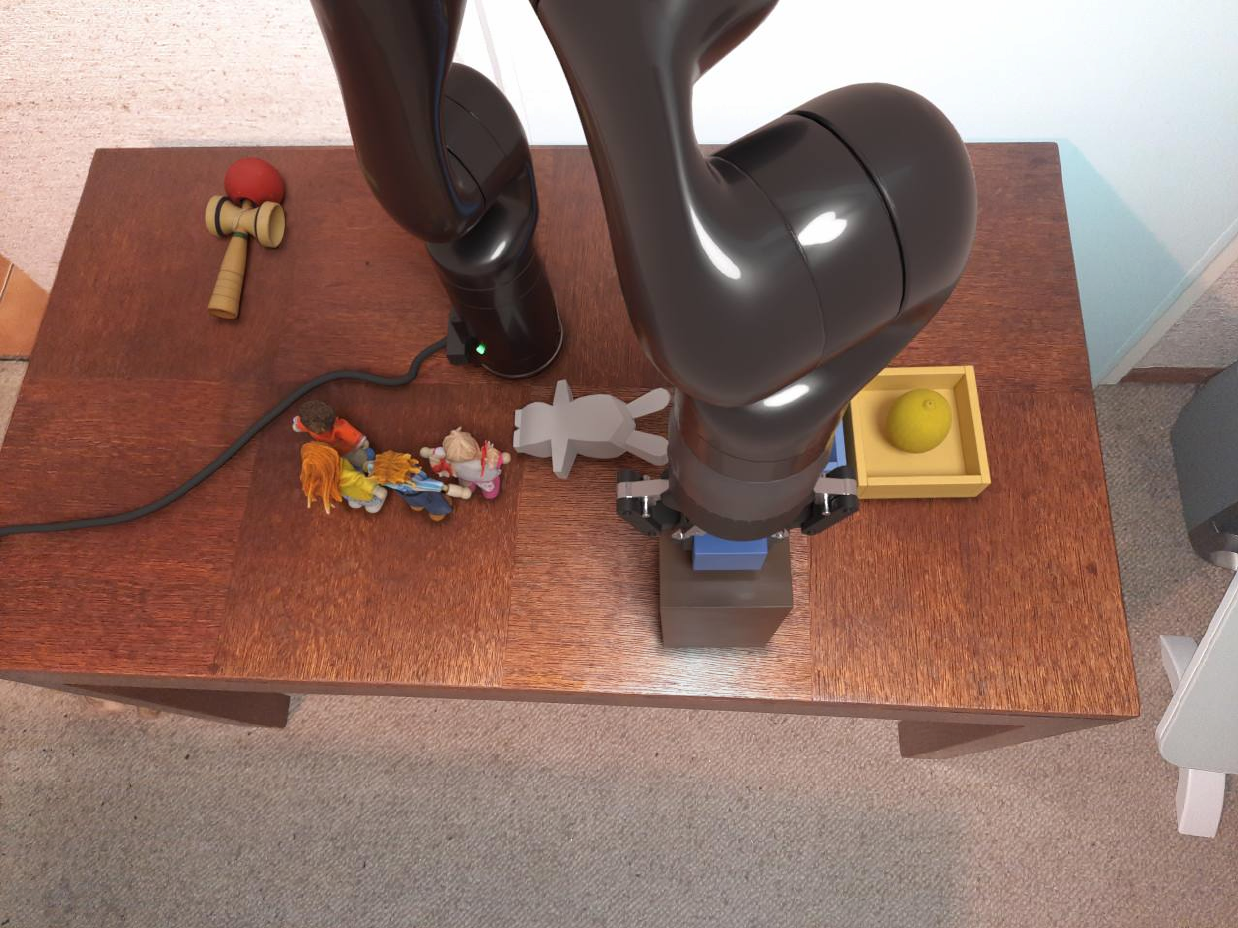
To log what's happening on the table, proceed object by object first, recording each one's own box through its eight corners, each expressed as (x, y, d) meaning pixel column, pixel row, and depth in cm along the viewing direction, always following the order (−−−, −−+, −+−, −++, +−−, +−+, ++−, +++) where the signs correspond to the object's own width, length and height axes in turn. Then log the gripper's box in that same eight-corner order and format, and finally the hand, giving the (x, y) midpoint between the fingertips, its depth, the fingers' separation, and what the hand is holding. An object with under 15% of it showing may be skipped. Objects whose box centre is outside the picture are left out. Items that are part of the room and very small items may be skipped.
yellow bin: (850, 499, 80) (858, 485, 77) (839, 386, 84) (847, 368, 80) (976, 497, 80) (991, 483, 76) (959, 383, 84) (973, 365, 80)
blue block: (692, 570, 57) (694, 554, 53) (690, 505, 58) (692, 485, 54) (760, 569, 57) (767, 553, 52) (757, 504, 58) (763, 484, 54)
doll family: (526, 473, 83) (500, 421, 71) (500, 567, 80) (468, 530, 68) (324, 434, 86) (265, 377, 74) (291, 523, 83) (224, 480, 71)
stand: (663, 647, 77) (660, 608, 58) (662, 550, 80) (658, 482, 61) (764, 647, 76) (793, 607, 57) (759, 549, 79) (785, 480, 61)
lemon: (948, 435, 81) (976, 401, 74) (913, 476, 80) (937, 445, 73) (901, 400, 83) (923, 363, 75) (865, 439, 82) (884, 406, 74)
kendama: (276, 327, 92) (307, 175, 96) (236, 304, 86) (271, 142, 90) (216, 326, 94) (249, 177, 98) (173, 303, 88) (210, 146, 92)
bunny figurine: (512, 376, 82) (666, 366, 80) (527, 398, 87) (673, 389, 85) (506, 469, 79) (666, 462, 77) (521, 486, 84) (673, 480, 81)
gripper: (890, 369, 42) (829, 480, 58) (599, 375, 43) (618, 483, 59) (907, 517, 39) (838, 590, 55) (597, 521, 40) (618, 591, 56)
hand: (725, 534), depth 57 cm, fingers closed on blue block, 4 cm apart
